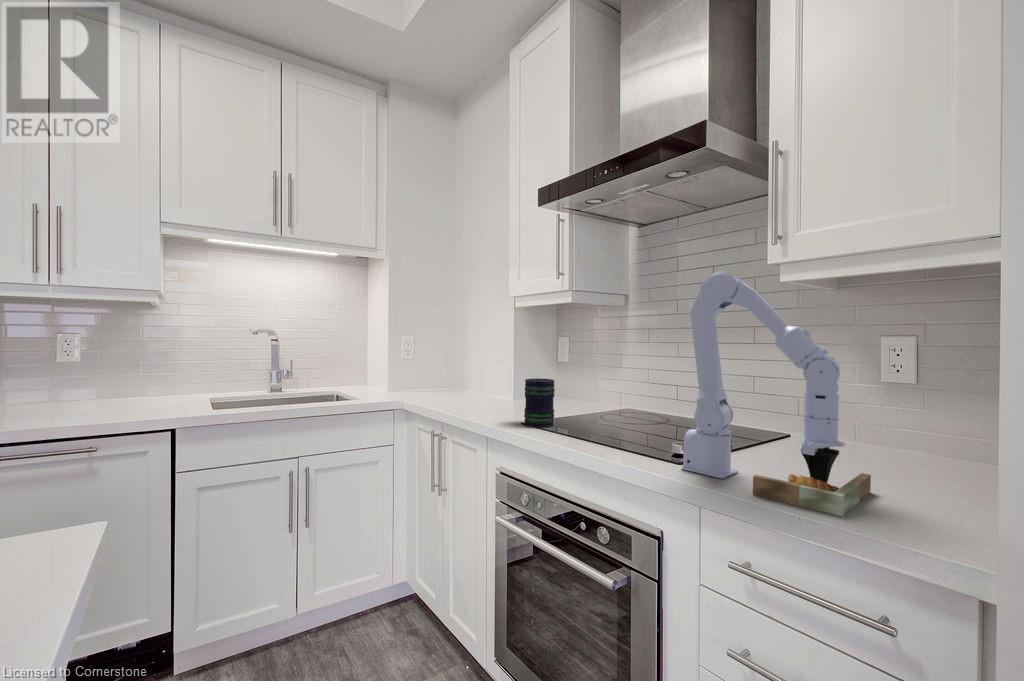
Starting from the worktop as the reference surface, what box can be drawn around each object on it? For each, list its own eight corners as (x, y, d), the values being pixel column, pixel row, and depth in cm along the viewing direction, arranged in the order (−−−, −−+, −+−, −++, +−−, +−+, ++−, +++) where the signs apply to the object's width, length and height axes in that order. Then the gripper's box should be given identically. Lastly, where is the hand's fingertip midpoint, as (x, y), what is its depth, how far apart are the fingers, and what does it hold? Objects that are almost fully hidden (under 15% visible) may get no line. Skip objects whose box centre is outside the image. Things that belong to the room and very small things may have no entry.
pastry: (843, 497, 92) (843, 477, 92) (845, 508, 86) (846, 487, 86) (786, 488, 97) (787, 469, 97) (785, 498, 91) (785, 478, 91)
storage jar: (532, 429, 151) (532, 381, 151) (519, 423, 160) (519, 378, 160) (559, 427, 155) (560, 381, 155) (545, 421, 164) (546, 378, 164)
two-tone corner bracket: (752, 494, 92) (753, 476, 92) (789, 475, 105) (789, 459, 105) (841, 516, 81) (841, 496, 81) (870, 492, 94) (870, 474, 94)
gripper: (832, 424, 87) (831, 498, 87) (855, 416, 97) (853, 483, 97) (790, 418, 92) (788, 488, 93) (815, 411, 102) (814, 474, 102)
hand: (819, 485), depth 95 cm, fingers closed
